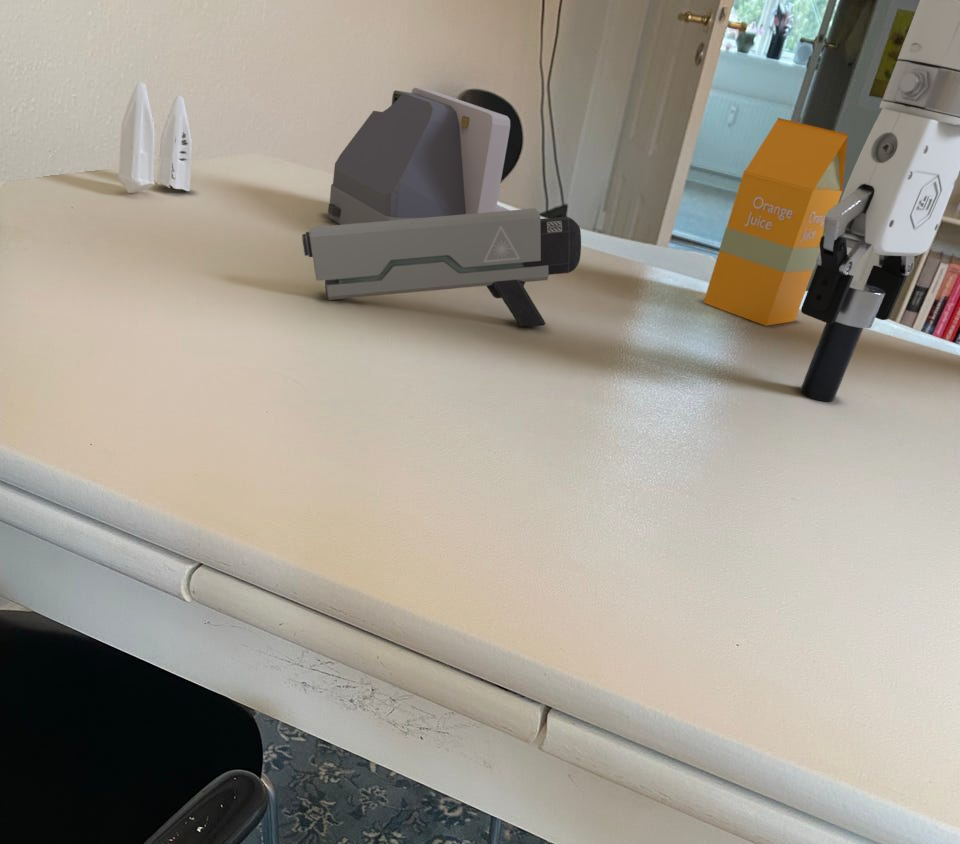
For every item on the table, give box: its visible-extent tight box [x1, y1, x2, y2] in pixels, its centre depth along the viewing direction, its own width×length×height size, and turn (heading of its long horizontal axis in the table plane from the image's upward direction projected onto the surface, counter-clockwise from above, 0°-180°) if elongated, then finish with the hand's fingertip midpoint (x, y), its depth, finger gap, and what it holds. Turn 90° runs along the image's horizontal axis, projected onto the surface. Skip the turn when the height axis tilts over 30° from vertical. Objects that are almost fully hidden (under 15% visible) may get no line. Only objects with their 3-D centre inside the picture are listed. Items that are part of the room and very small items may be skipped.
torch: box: [799, 279, 885, 403], centre depth 82 cm, size 4×4×10 cm
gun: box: [301, 207, 582, 328], centre depth 83 cm, size 2×25×10 cm, turn 98°
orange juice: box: [702, 117, 849, 327], centre depth 104 cm, size 8×9×20 cm
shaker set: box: [116, 81, 193, 194], centre depth 103 cm, size 12×4×11 cm, turn 158°
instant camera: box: [327, 87, 511, 225], centre depth 107 cm, size 21×21×15 cm
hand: (845, 316), depth 81 cm, fingers open, 9 cm apart
